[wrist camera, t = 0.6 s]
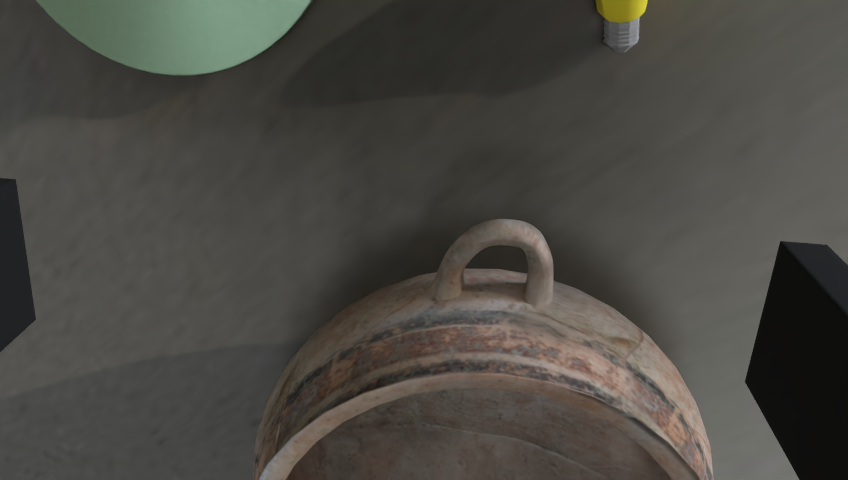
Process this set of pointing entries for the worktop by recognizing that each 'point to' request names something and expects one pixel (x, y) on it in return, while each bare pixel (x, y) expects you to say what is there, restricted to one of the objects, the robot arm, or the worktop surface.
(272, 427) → the cooking pot
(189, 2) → the tin lid
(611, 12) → the light bulb
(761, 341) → the robot arm
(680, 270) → the worktop surface
